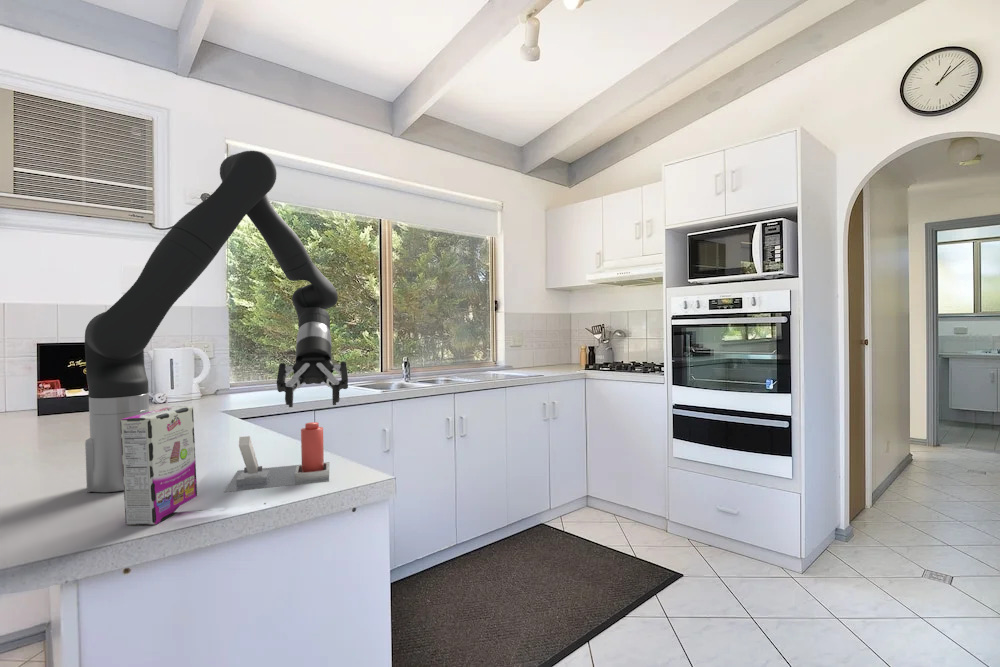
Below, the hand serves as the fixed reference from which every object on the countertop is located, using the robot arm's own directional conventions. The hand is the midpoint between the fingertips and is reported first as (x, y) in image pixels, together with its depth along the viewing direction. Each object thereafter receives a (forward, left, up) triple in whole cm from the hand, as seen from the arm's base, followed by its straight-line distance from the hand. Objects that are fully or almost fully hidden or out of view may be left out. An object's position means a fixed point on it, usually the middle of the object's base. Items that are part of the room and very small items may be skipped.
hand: (312, 403), depth 110 cm
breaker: (-10, -7, -11) cm, 17 cm away
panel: (-6, -6, -14) cm, 16 cm away
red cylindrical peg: (0, -8, -13) cm, 15 cm away
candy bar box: (-22, -18, -14) cm, 32 cm away
